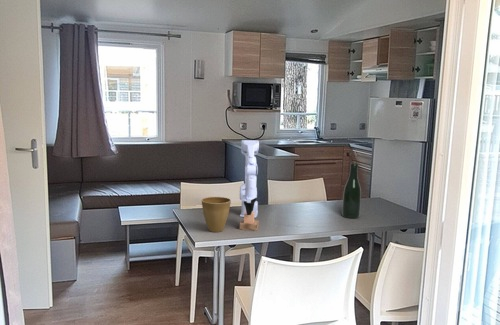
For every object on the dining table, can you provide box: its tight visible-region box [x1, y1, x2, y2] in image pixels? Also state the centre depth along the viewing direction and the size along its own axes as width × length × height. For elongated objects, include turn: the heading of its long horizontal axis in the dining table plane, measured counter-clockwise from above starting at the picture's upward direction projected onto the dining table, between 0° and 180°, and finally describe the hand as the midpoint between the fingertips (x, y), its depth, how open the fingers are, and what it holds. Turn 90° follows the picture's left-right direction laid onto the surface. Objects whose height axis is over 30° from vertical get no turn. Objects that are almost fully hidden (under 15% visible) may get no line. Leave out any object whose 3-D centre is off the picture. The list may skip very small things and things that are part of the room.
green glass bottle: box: [341, 160, 362, 219], centre depth 268 cm, size 10×10×33 cm
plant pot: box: [201, 196, 232, 233], centre depth 233 cm, size 15×15×16 cm
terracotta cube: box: [243, 211, 255, 224], centre depth 240 cm, size 5×5×5 cm
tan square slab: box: [239, 218, 260, 232], centre depth 241 cm, size 9×9×3 cm
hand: (249, 212), depth 240 cm, fingers open, 7 cm apart
